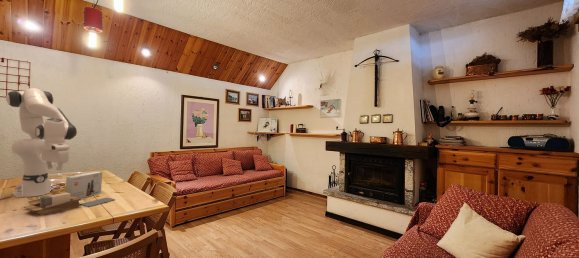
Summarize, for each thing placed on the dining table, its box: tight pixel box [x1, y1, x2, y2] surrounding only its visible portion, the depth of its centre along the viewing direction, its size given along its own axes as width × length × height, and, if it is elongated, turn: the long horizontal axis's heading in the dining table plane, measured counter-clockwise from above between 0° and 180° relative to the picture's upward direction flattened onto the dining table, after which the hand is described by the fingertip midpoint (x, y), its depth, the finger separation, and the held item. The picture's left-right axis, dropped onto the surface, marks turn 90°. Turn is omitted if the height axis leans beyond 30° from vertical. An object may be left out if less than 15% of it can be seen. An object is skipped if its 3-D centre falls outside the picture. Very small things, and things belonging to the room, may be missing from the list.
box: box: [39, 191, 70, 208], centre depth 147 cm, size 5×12×8 cm, turn 158°
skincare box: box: [65, 171, 103, 199], centre depth 170 cm, size 21×5×16 cm, turn 168°
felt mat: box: [79, 197, 116, 208], centre depth 160 cm, size 9×16×1 cm, turn 158°
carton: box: [23, 196, 85, 216], centre depth 147 cm, size 19×23×5 cm
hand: (54, 169), depth 145 cm, fingers open, 8 cm apart
